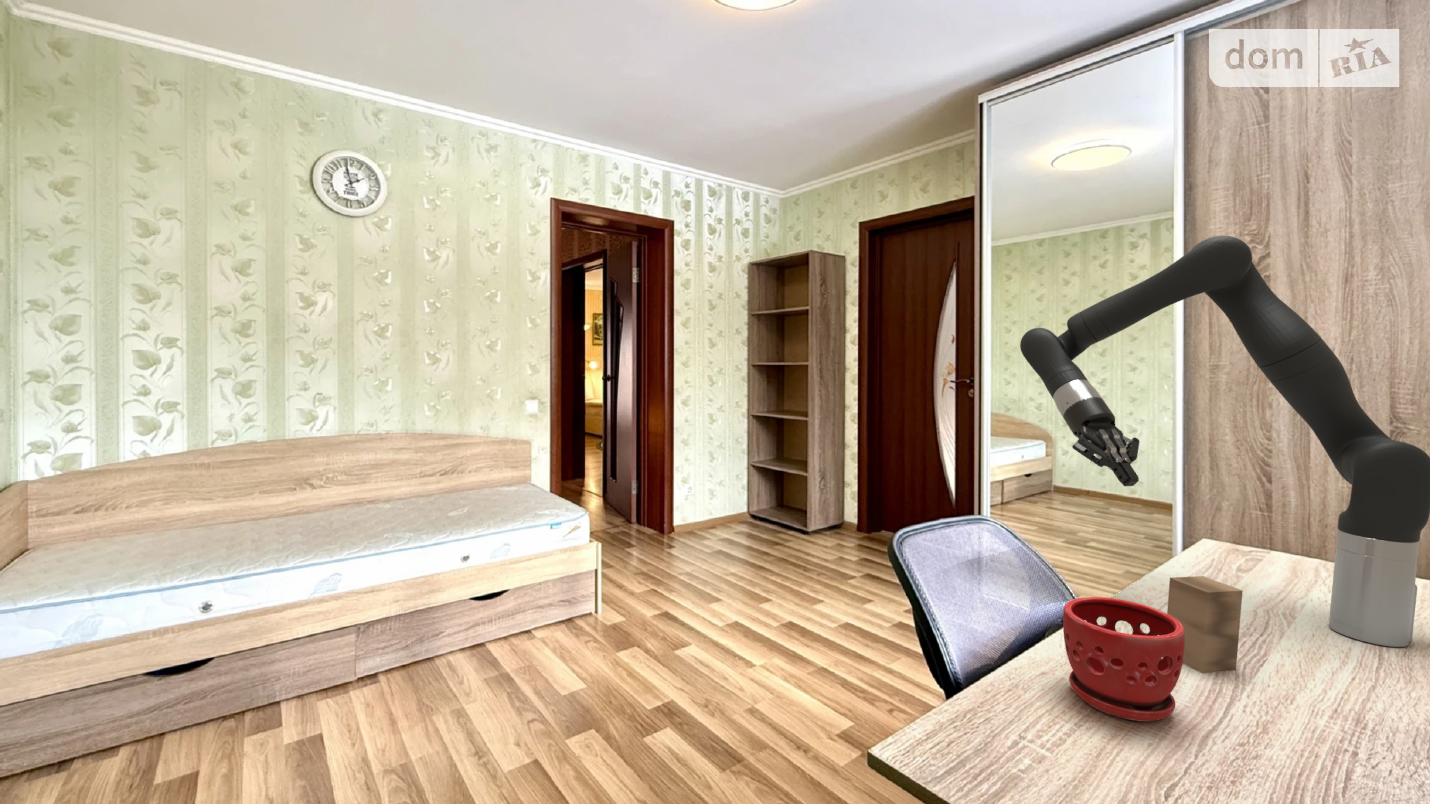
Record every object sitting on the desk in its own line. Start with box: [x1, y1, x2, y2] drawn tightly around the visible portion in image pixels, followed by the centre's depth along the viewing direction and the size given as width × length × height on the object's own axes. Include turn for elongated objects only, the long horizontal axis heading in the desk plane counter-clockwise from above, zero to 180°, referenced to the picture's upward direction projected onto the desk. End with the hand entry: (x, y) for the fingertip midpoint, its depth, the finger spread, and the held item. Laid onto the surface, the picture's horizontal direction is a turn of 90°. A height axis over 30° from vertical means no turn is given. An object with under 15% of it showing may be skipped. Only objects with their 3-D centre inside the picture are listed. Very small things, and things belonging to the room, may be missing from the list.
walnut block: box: [1167, 575, 1244, 674], centre depth 91 cm, size 6×6×12 cm
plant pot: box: [1062, 596, 1185, 722], centre depth 79 cm, size 13×13×12 cm
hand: (1132, 483), depth 105 cm, fingers closed
